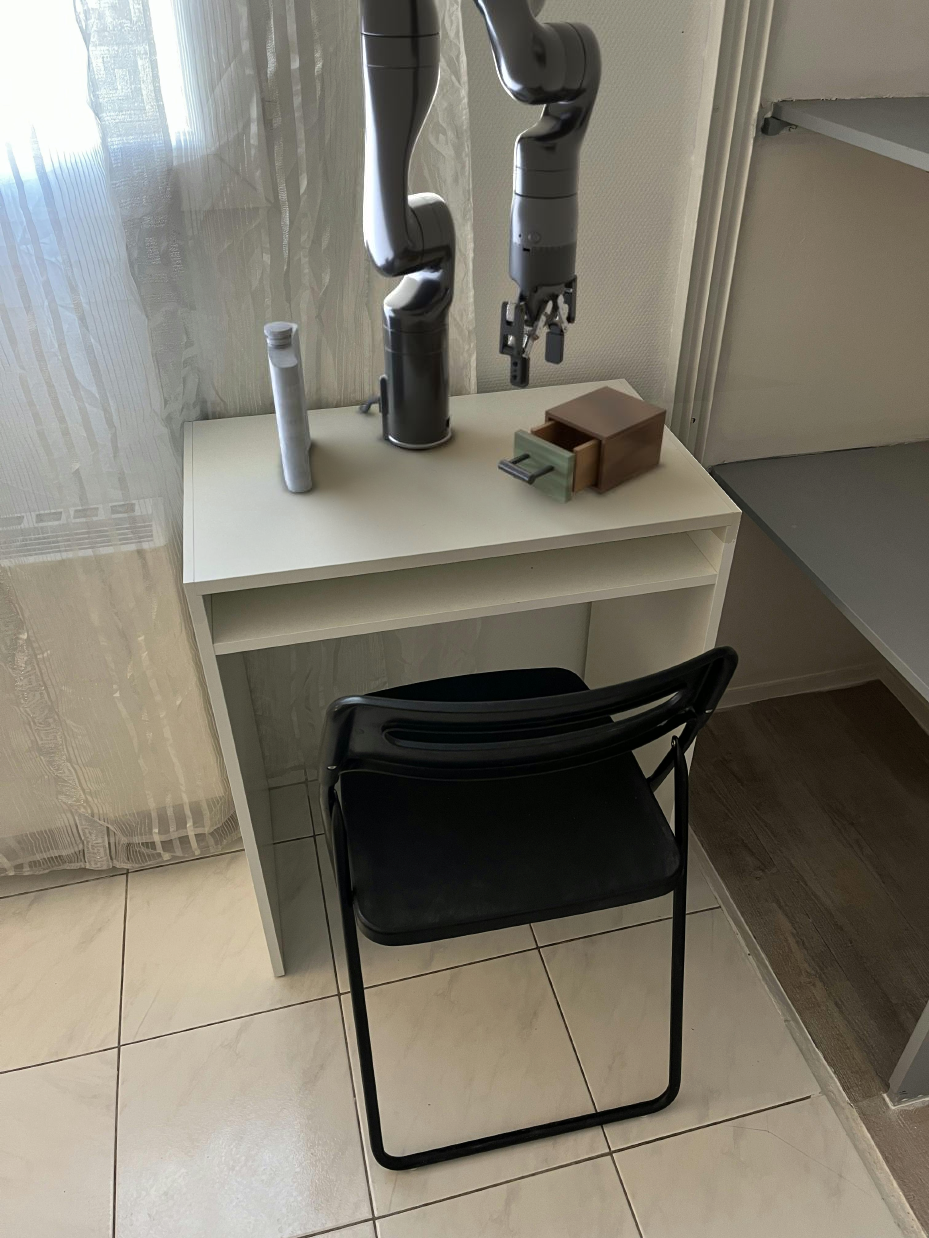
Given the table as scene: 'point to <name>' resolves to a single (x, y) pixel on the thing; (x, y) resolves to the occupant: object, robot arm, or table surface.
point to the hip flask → (290, 403)
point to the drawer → (555, 459)
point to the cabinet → (616, 432)
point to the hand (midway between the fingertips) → (536, 374)
